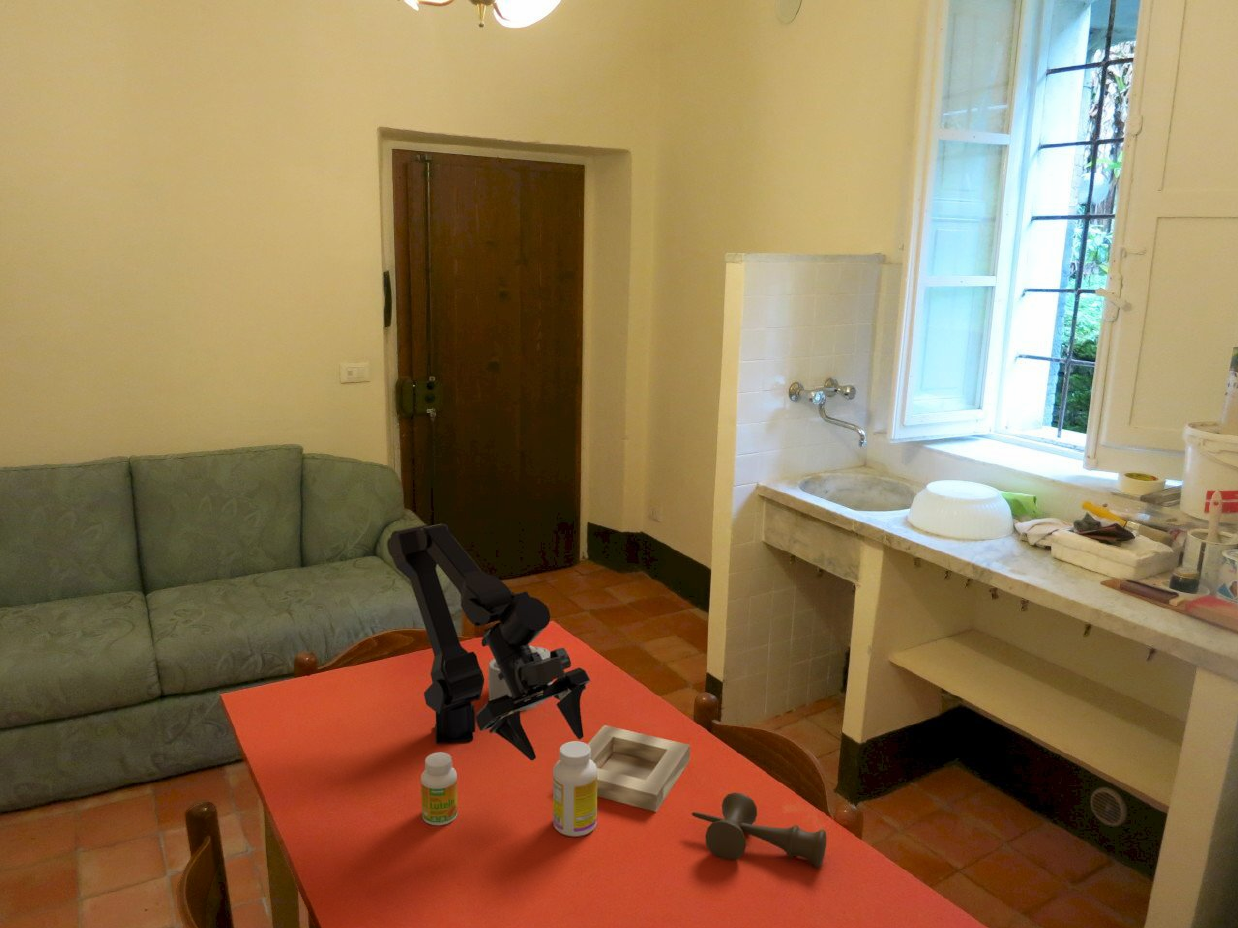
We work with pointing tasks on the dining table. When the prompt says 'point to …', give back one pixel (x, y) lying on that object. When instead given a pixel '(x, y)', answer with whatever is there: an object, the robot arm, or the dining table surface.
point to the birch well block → (636, 766)
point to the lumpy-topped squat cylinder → (500, 687)
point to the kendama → (757, 832)
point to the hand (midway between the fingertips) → (558, 748)
